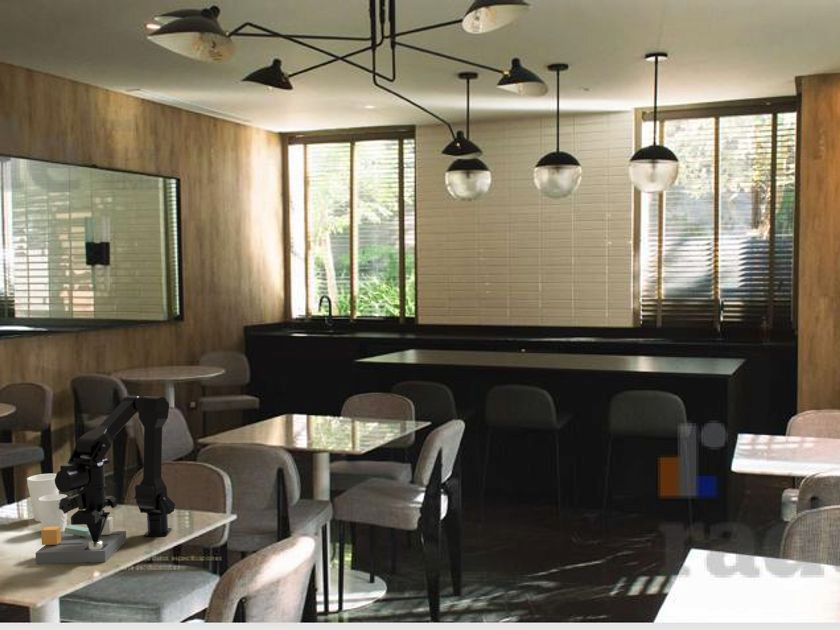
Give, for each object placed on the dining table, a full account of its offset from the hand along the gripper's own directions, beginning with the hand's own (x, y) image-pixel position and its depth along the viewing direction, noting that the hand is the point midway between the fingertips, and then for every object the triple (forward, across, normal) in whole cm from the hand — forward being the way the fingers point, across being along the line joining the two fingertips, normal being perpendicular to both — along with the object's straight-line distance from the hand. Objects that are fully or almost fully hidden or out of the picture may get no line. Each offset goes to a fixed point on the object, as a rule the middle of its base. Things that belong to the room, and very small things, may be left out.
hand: (95, 542), depth 243 cm
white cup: (+5, -27, -22) cm, 35 cm away
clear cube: (+4, 0, 0) cm, 4 cm away
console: (+4, -5, -6) cm, 9 cm away
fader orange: (+1, -3, -13) cm, 13 cm away
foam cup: (+5, -42, -30) cm, 51 cm away
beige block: (+1, -11, -1) cm, 12 cm away
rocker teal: (0, -10, -8) cm, 13 cm away
